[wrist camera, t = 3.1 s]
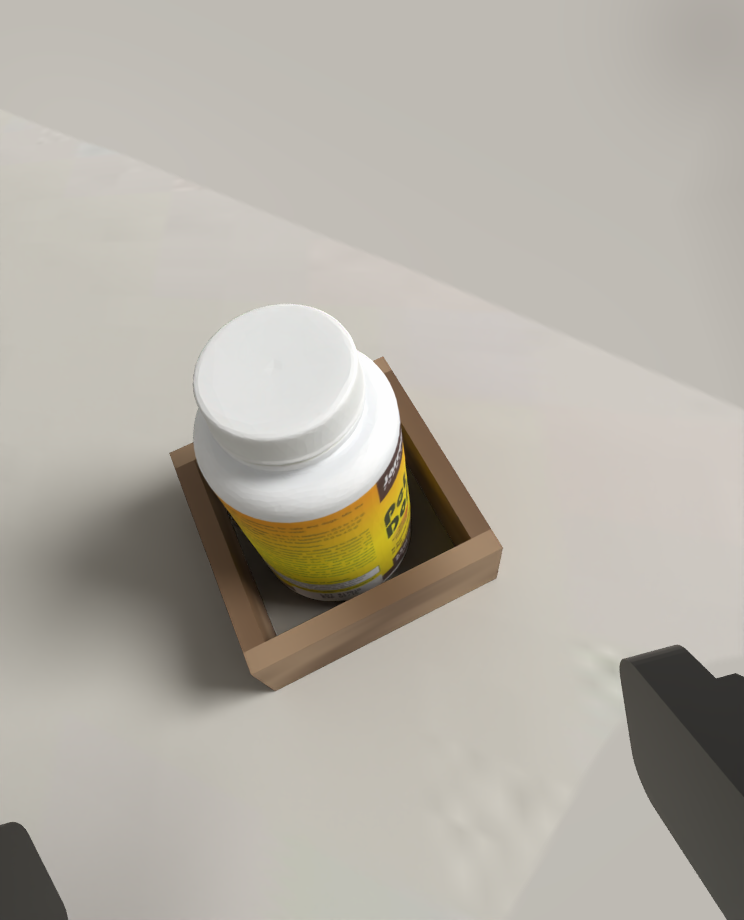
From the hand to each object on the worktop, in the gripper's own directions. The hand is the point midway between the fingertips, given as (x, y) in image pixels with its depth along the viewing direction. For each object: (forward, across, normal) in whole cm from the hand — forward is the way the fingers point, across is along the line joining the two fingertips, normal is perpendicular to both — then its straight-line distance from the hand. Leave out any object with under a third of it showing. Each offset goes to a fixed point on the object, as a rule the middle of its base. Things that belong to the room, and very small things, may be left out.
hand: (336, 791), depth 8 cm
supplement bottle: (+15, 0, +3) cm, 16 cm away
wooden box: (+15, 0, +2) cm, 16 cm away
